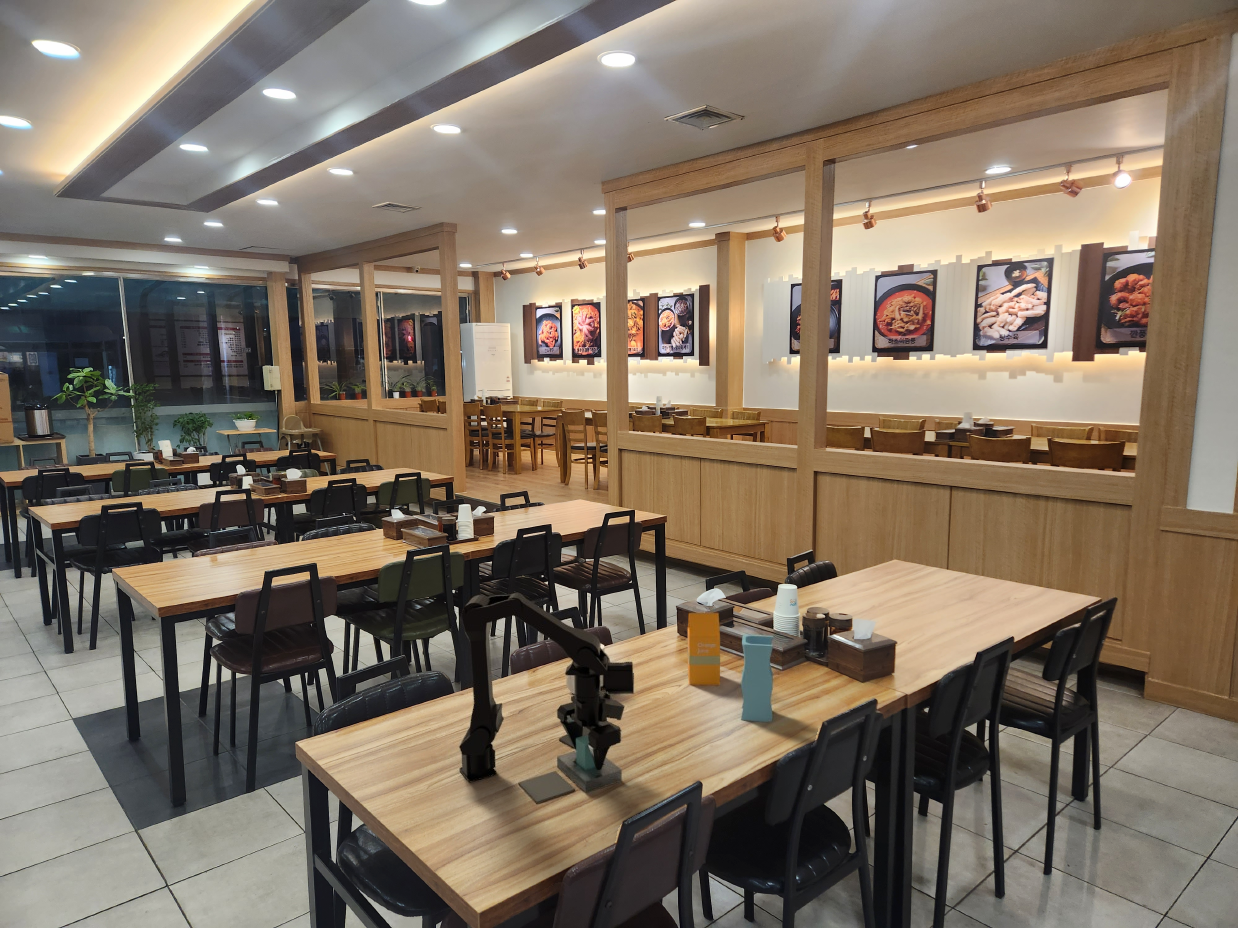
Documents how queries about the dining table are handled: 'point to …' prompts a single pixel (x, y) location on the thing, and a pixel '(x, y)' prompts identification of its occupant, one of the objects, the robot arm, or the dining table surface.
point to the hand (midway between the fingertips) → (588, 760)
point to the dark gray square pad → (546, 787)
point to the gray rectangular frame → (589, 773)
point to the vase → (757, 678)
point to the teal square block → (584, 754)
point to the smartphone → (584, 733)
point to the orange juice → (703, 649)
